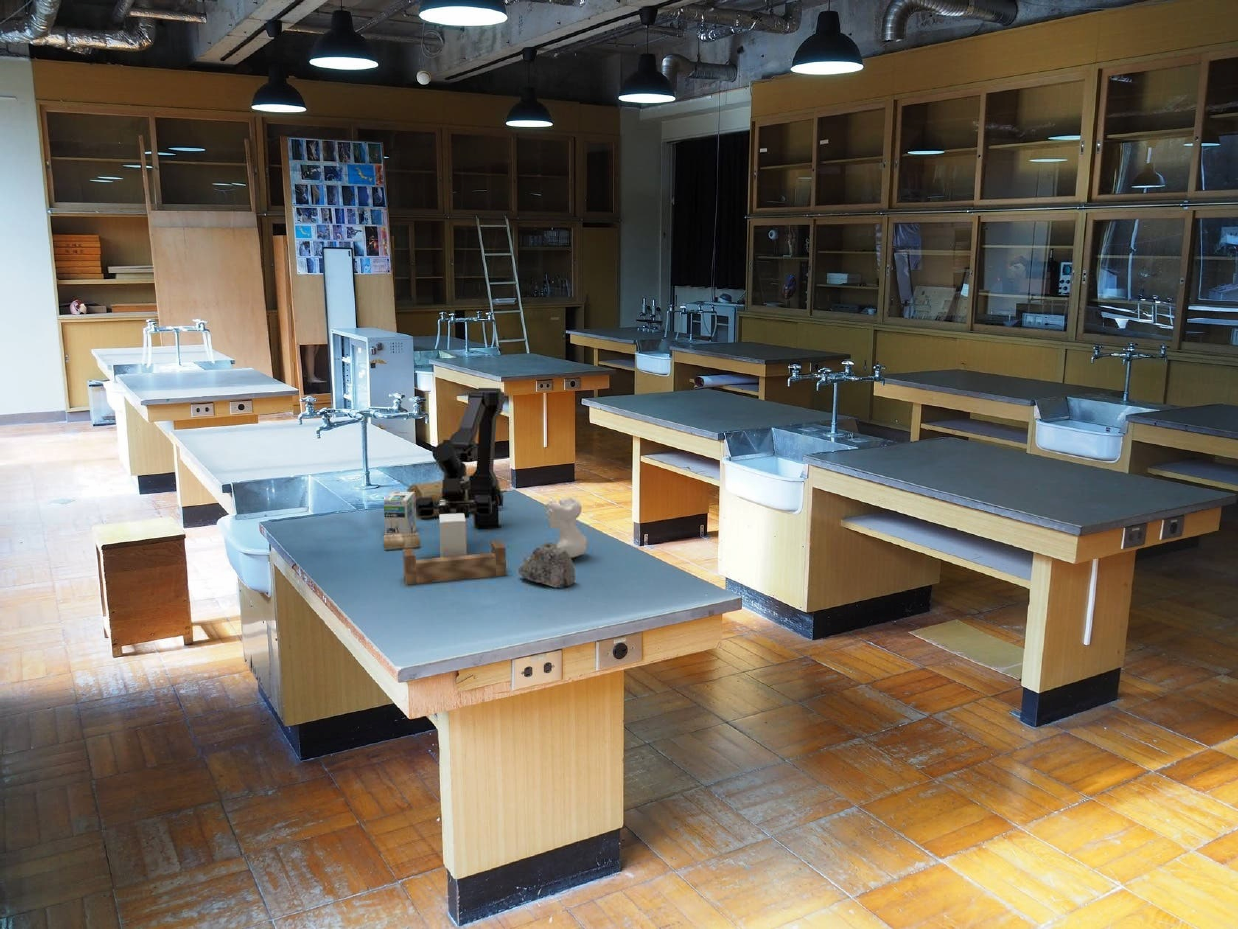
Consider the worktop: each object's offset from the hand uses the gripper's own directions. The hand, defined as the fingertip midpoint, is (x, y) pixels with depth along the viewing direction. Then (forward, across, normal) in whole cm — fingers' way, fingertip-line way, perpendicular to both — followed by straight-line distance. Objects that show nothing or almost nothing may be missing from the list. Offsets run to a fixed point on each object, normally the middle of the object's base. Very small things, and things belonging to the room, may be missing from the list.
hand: (453, 534), depth 259 cm
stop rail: (+13, +1, -2) cm, 13 cm away
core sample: (-32, -4, +43) cm, 53 cm away
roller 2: (-5, -14, +15) cm, 22 cm away
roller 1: (-8, -16, +18) cm, 25 cm away
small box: (+8, 0, +2) cm, 9 cm away
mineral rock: (+18, +23, -6) cm, 30 cm away
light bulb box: (-16, -17, +26) cm, 35 cm away
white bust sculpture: (+4, +28, +7) cm, 29 cm away
